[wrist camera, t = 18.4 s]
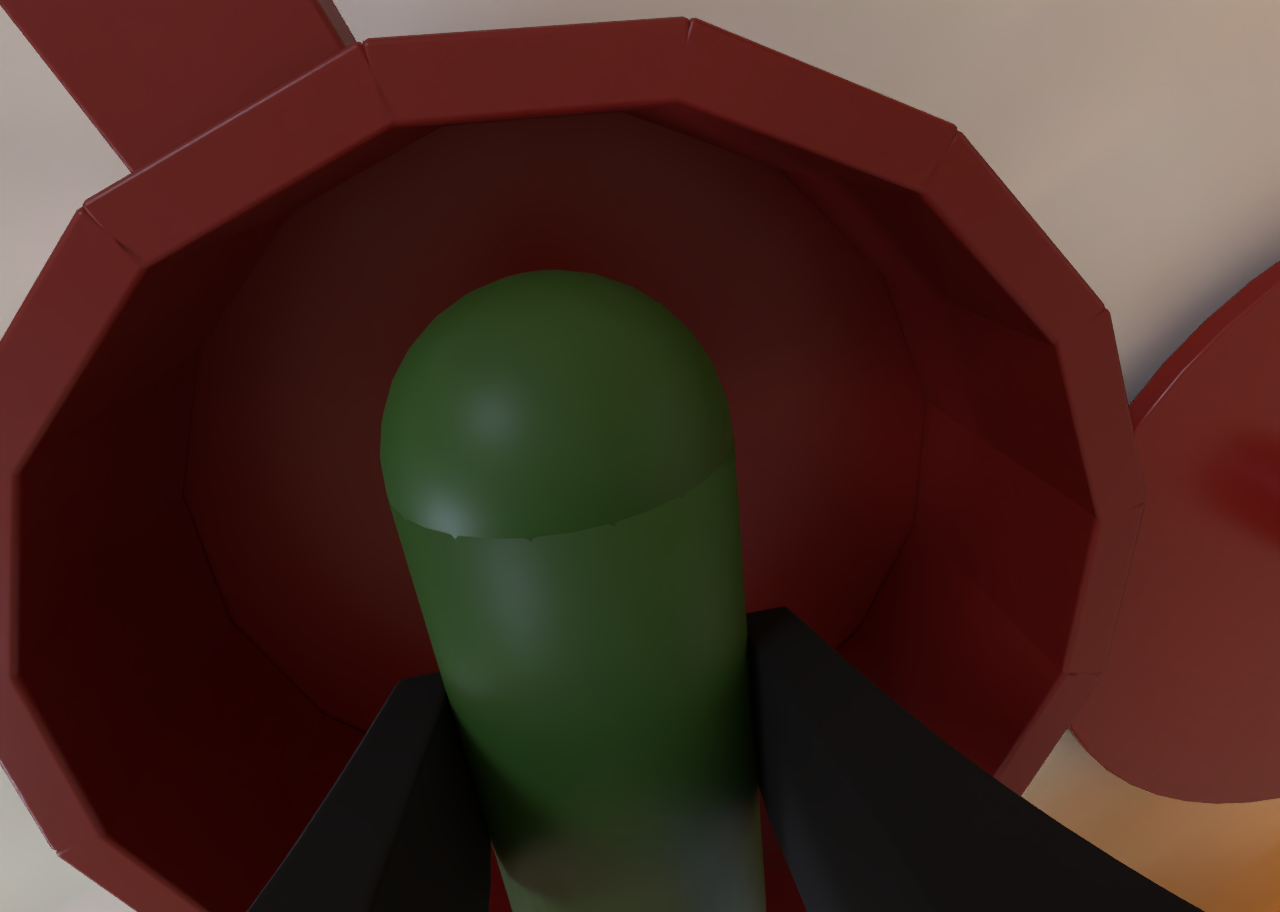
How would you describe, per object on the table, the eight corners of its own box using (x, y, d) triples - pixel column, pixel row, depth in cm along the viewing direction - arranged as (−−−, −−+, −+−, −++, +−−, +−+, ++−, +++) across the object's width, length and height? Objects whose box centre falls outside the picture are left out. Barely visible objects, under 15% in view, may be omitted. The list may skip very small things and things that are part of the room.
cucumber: (372, 268, 8) (278, 359, 5) (679, 224, 8) (773, 284, 5) (540, 889, 12) (546, 1142, 9) (736, 846, 13) (805, 1077, 10)
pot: (705, -382, 9) (881, -864, 5) (1045, 676, 18) (1221, 862, 13) (-231, 189, 10) (-824, 241, 6) (518, 929, 18) (517, 1181, 14)
